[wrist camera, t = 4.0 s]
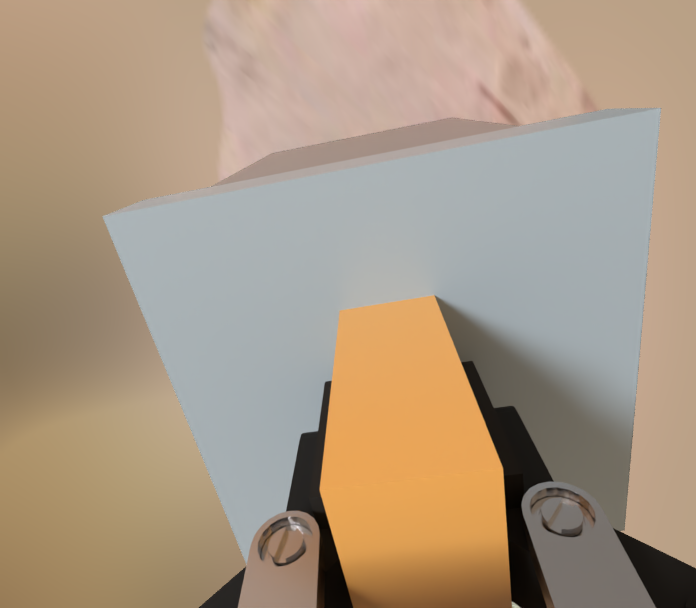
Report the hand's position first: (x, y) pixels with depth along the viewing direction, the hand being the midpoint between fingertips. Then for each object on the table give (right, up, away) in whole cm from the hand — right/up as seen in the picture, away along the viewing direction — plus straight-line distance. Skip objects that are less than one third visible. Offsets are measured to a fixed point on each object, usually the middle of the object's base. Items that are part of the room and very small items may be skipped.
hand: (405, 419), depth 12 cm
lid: (0, +1, +3) cm, 3 cm away
